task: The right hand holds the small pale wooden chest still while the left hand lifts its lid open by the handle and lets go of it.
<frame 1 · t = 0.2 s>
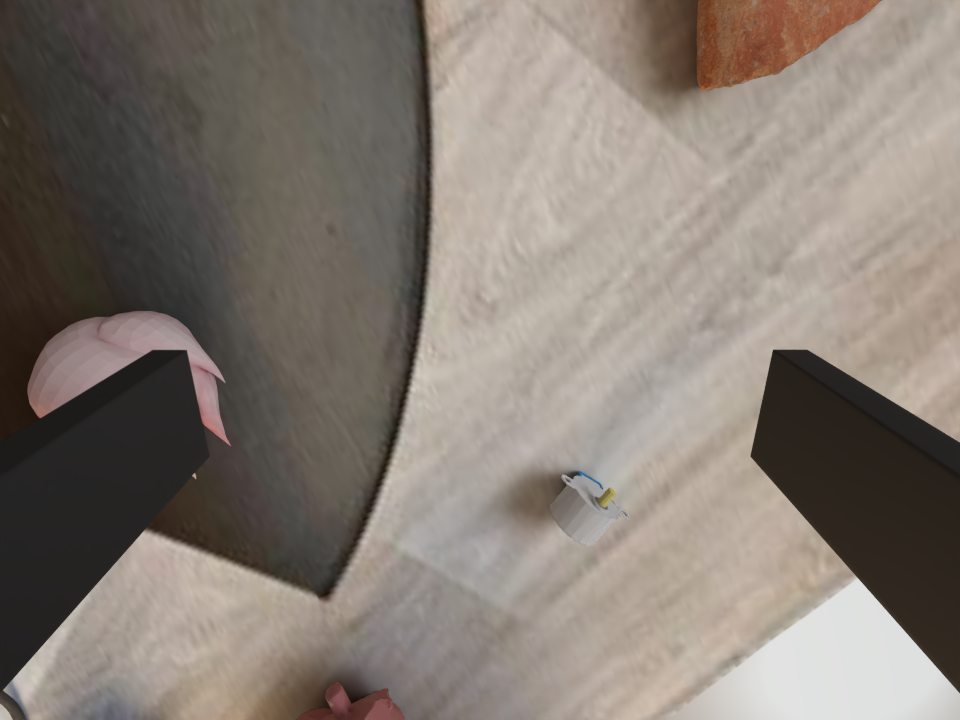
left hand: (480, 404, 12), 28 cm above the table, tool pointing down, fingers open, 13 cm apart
electric motor: (583, 482, 46), on the table
toy 2: (174, 383, 43), on the table
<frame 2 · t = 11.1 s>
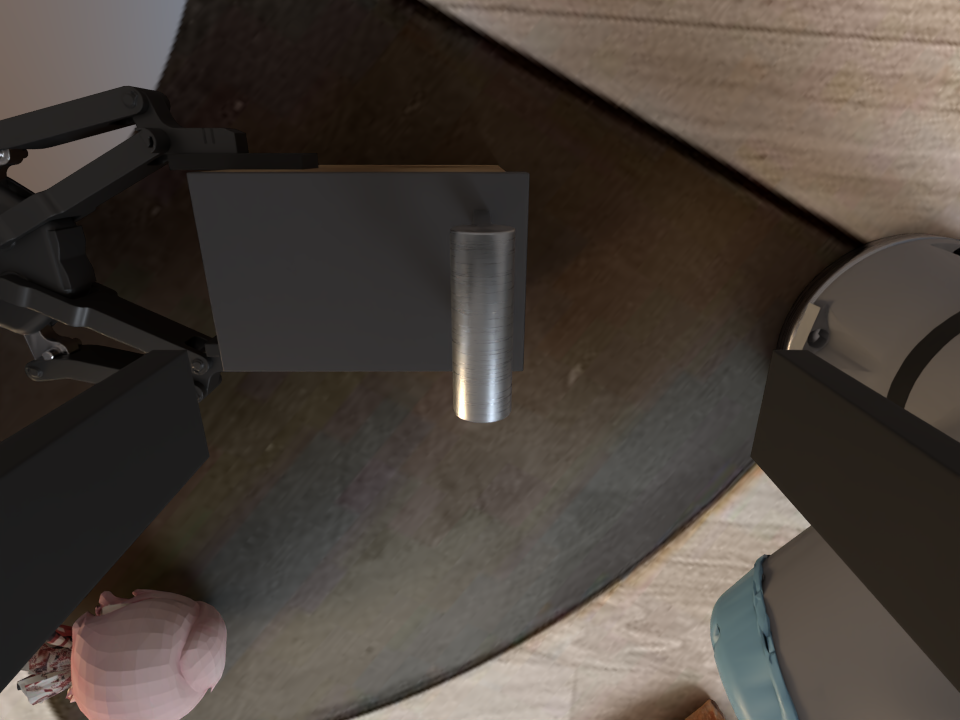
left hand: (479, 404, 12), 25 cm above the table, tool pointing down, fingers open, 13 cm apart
right hand: (320, 257, 29), fingers closed on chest, 9 cm apart
toy 2: (167, 614, 48), on the table
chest: (395, 237, 36), on the table, touching right hand
lid: (348, 298, 21), point 16 cm above the table, hinge at 0.0°
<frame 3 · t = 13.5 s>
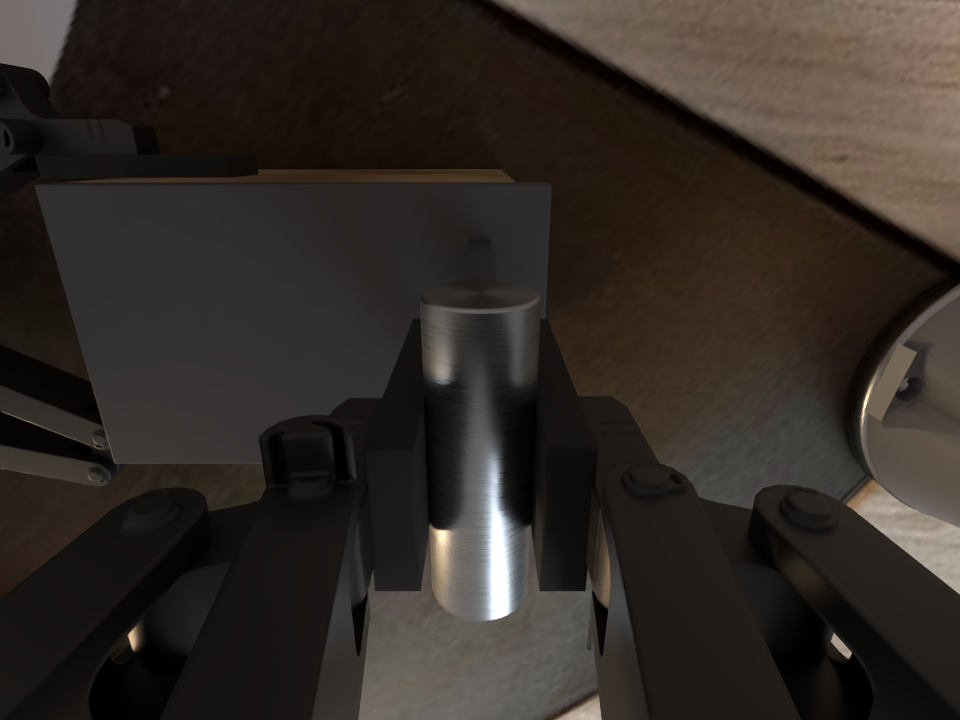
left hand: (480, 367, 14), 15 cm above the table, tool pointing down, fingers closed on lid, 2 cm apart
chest: (370, 261, 28), on the table, touching right hand
lid: (271, 382, 13), point 16 cm above the table, hinge at 0.0°, touching left hand
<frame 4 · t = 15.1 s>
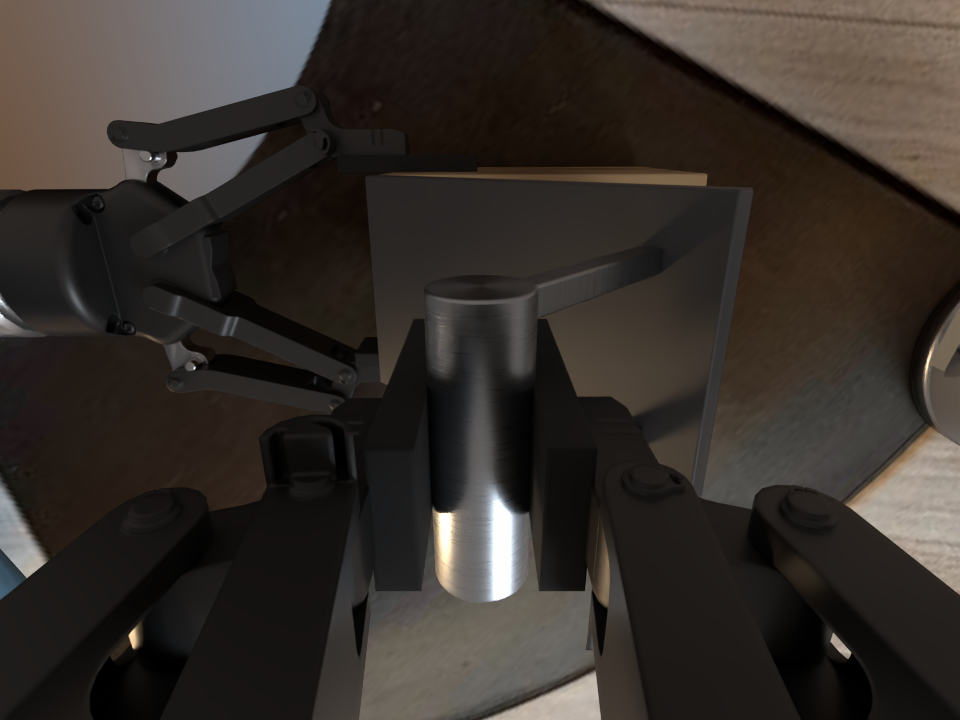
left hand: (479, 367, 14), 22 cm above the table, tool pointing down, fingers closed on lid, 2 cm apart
right hand: (477, 262, 28), fingers closed on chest, 9 cm apart
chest: (528, 242, 34), on the table, touching right hand
lid: (429, 342, 16), point 19 cm above the table, hinge at 39.1°, touching left hand
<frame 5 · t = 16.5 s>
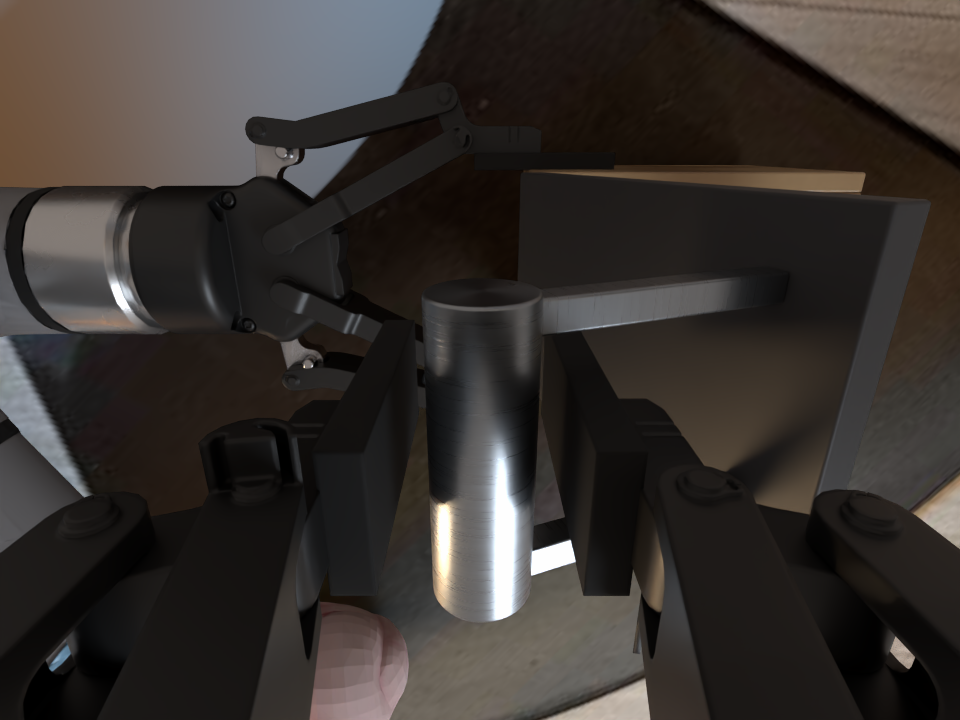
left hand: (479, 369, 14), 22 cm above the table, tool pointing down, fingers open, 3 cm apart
right hand: (599, 260, 28), fingers closed on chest, 9 cm apart
toy 2: (332, 626, 46), on the table
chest: (628, 241, 34), on the table, touching right hand
lid: (521, 345, 16), point 20 cm above the table, hinge at 64.6°
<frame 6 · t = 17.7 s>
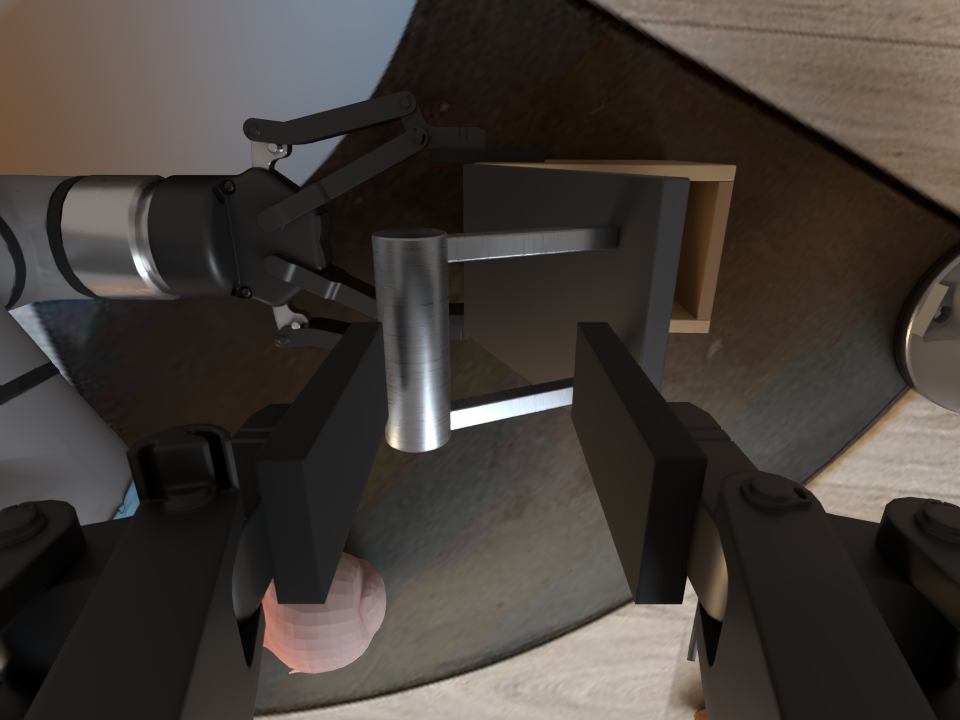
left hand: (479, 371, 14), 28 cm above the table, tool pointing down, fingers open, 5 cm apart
right hand: (538, 239, 34), fingers closed on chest, 9 cm apart
toy 2: (319, 571, 52), on the table
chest: (572, 225, 40), on the table, touching right hand
lid: (455, 290, 21), point 20 cm above the table, hinge at 62.8°
when the right hand's fingers open (7 cm above the table, at t = 20.4 s): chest stays where it is, on the table.
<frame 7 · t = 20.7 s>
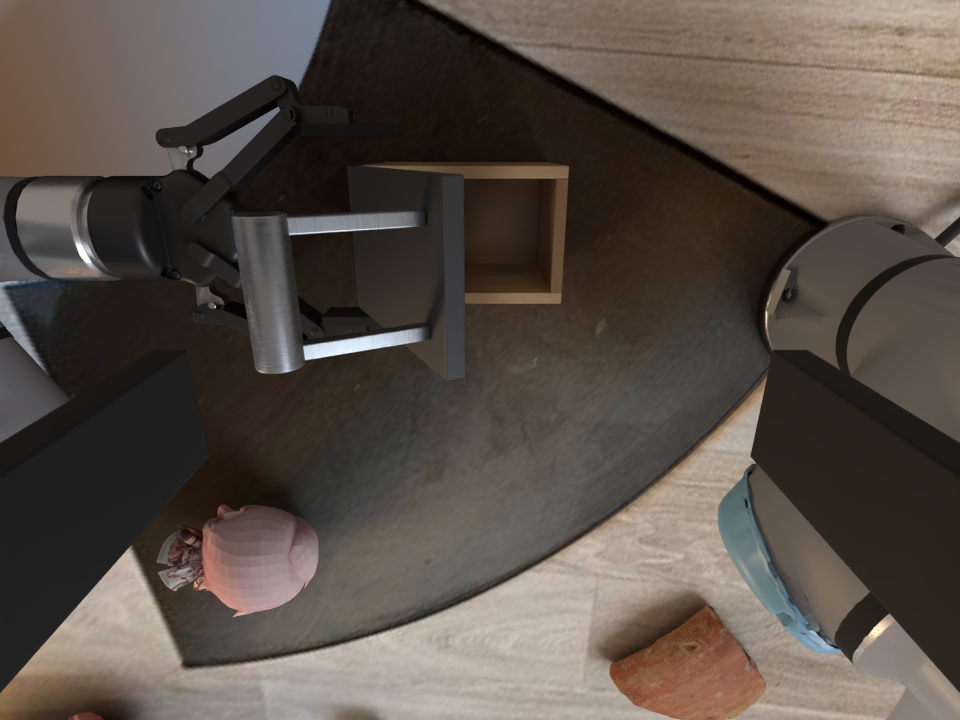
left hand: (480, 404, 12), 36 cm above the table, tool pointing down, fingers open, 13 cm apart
right hand: (405, 229, 40), fingers open, 13 cm apart
toy 2: (264, 529, 58), on the table
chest: (467, 218, 46), on the table
ceramic shard: (688, 662, 65), on the table
lid: (325, 263, 28), point 20 cm above the table, hinge at 62.0°
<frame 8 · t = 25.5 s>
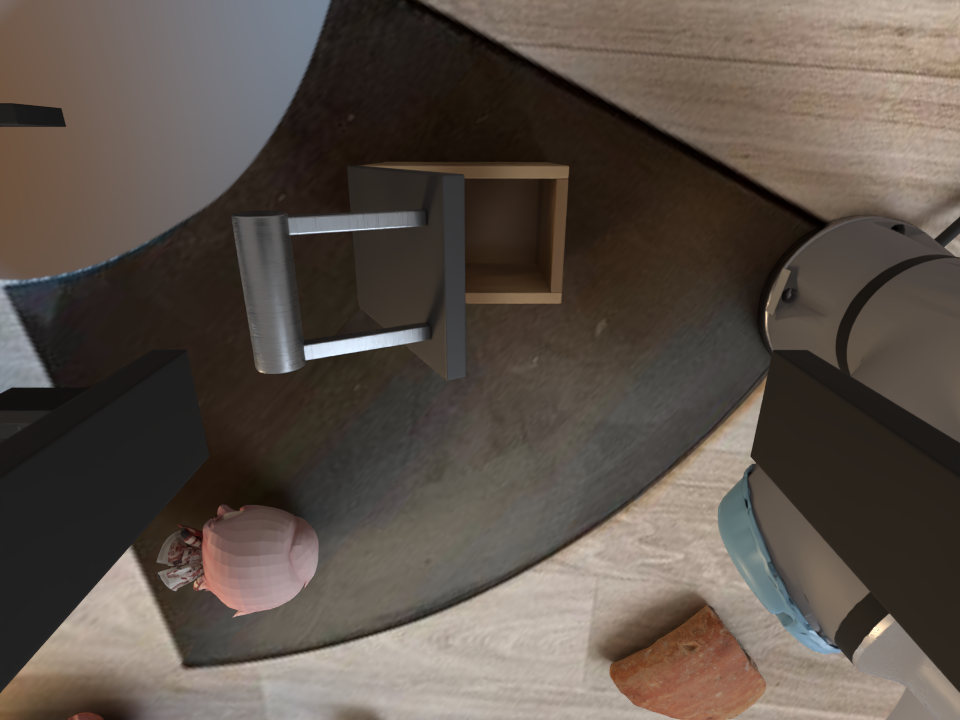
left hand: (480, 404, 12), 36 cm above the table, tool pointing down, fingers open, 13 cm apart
toy 2: (264, 529, 58), on the table
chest: (467, 218, 46), on the table
ceramic shard: (688, 662, 65), on the table
lid: (326, 263, 28), point 20 cm above the table, hinge at 62.0°
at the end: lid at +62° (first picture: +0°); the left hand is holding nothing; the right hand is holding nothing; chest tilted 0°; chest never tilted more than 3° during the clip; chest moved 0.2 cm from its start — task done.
